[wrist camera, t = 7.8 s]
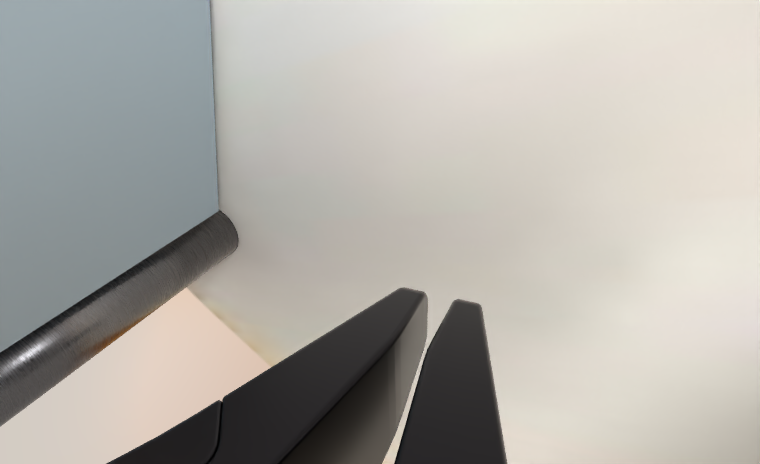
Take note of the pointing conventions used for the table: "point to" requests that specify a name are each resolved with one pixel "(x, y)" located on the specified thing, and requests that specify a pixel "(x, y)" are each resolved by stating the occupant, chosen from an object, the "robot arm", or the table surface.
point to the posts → (108, 313)
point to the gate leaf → (98, 145)
